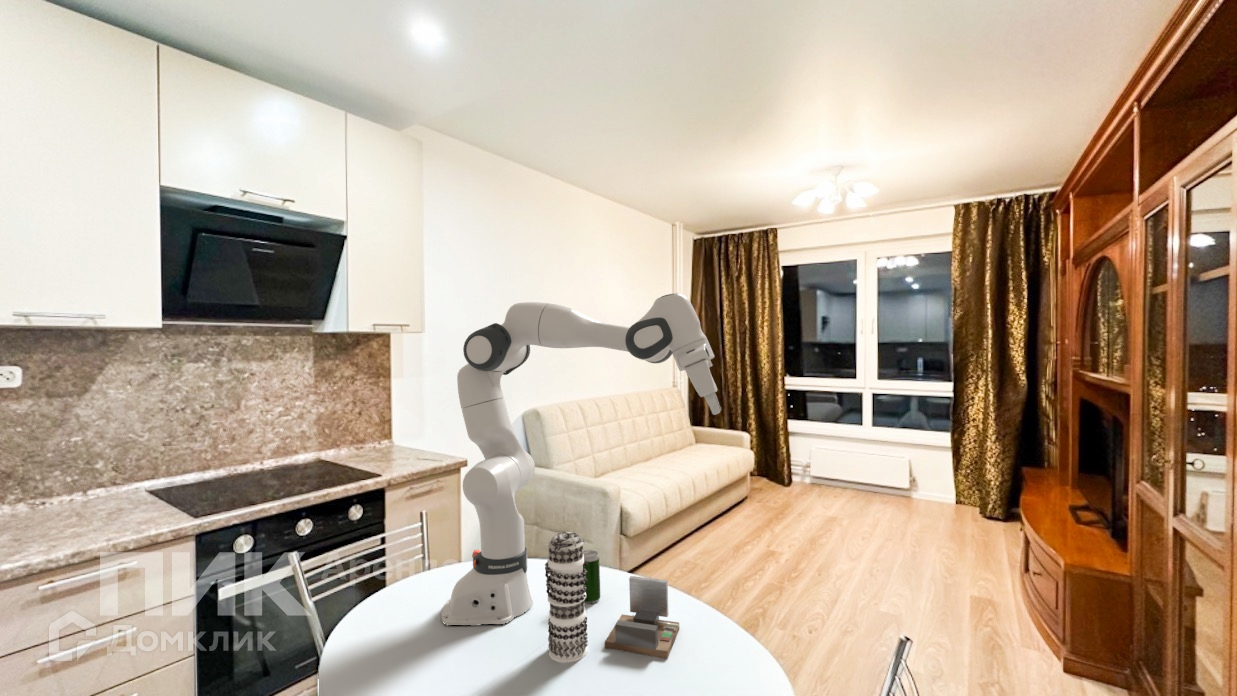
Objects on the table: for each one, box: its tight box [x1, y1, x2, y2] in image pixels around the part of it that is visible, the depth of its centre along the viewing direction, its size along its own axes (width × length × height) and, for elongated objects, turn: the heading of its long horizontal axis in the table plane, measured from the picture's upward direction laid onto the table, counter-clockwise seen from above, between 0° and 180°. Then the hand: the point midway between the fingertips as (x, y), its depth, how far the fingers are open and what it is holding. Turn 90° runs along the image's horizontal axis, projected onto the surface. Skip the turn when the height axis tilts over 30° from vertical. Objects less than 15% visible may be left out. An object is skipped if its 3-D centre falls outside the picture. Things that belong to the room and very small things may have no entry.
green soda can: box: [583, 549, 601, 605], centre depth 135 cm, size 5×5×12 cm
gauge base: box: [604, 614, 680, 660], centre depth 116 cm, size 12×14×6 cm
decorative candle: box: [544, 531, 589, 664], centre depth 112 cm, size 9×9×25 cm
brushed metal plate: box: [628, 575, 680, 628], centre depth 119 cm, size 5×12×9 cm, turn 71°
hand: (717, 412), depth 118 cm, fingers open, 8 cm apart
